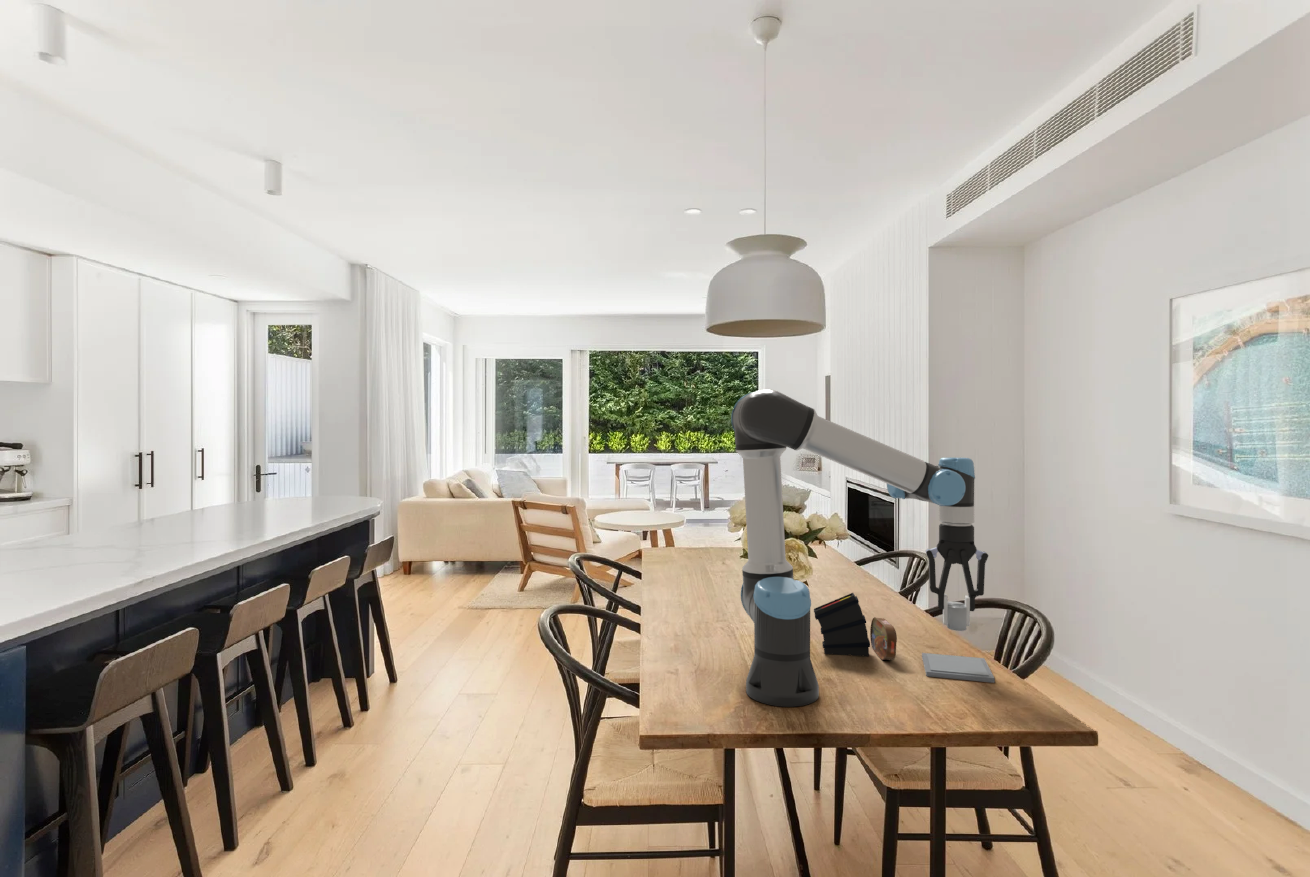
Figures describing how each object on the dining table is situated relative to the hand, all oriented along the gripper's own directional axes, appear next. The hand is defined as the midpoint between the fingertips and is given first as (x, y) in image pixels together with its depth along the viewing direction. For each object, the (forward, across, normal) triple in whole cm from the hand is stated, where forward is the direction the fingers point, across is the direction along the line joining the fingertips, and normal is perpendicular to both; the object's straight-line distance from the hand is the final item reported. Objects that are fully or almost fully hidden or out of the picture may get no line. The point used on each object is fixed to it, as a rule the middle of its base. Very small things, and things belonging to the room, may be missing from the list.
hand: (956, 623), depth 159 cm
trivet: (+11, 0, 0) cm, 11 cm away
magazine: (+11, +26, -4) cm, 28 cm away
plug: (+1, 0, -1) cm, 1 cm away
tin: (+11, +16, -6) cm, 20 cm away
